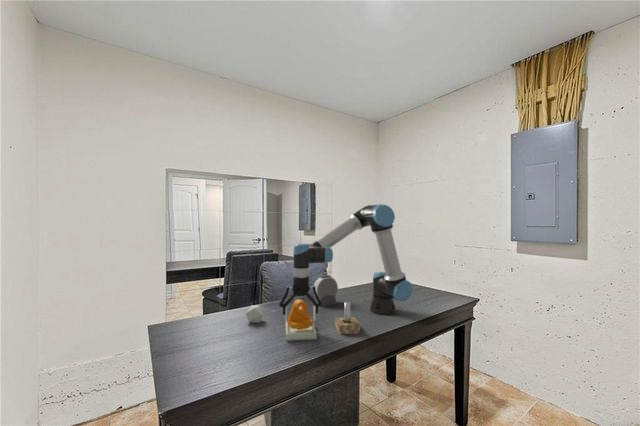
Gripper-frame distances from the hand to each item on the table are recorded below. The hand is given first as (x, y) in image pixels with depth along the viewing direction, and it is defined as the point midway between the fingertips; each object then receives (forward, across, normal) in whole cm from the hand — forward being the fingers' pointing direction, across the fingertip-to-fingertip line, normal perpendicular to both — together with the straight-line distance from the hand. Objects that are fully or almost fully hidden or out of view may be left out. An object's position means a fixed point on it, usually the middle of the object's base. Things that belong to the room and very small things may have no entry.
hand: (300, 320), depth 131 cm
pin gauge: (+6, -24, -2) cm, 24 cm away
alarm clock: (+6, -20, -44) cm, 48 cm away
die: (+6, +22, -16) cm, 29 cm away
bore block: (+6, -24, -2) cm, 24 cm away
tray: (+6, 0, 0) cm, 6 cm away
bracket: (+3, 0, 0) cm, 3 cm away
